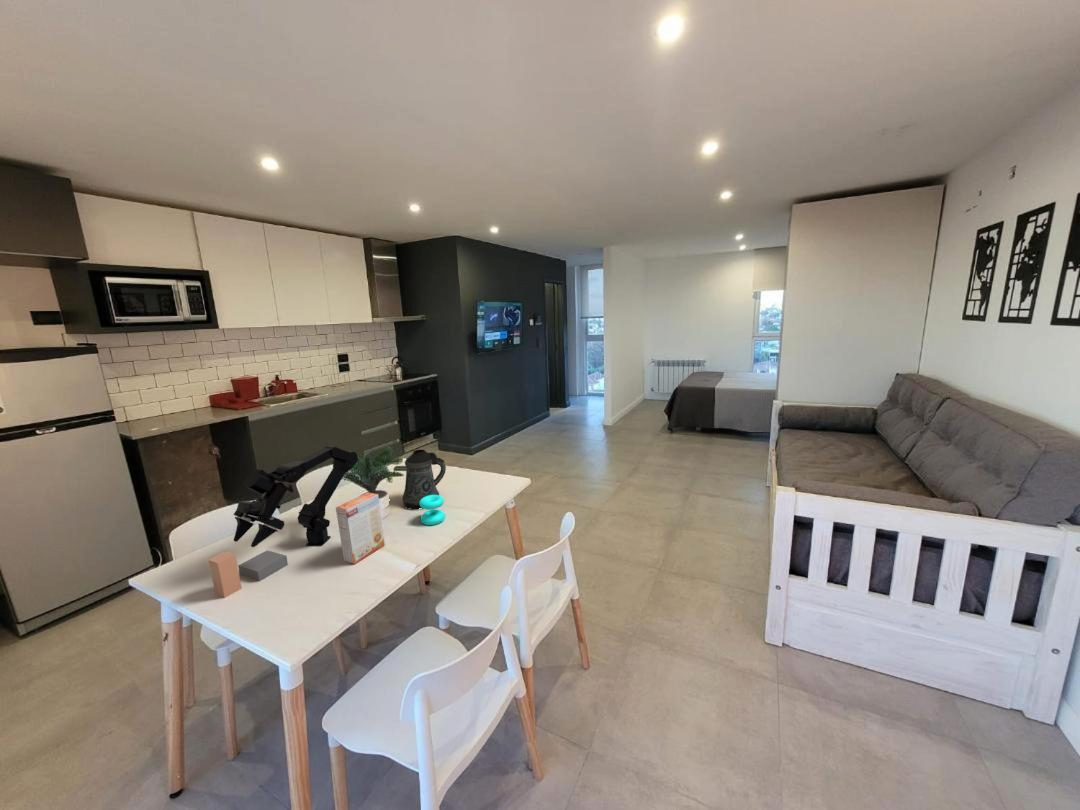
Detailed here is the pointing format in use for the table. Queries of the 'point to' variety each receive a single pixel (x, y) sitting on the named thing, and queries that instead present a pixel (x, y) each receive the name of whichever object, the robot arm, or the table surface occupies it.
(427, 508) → the donuts
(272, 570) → the charcoal box
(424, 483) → the beer stein
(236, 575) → the terracotta block
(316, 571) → the table surface
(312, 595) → the table surface
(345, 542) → the cracker box
